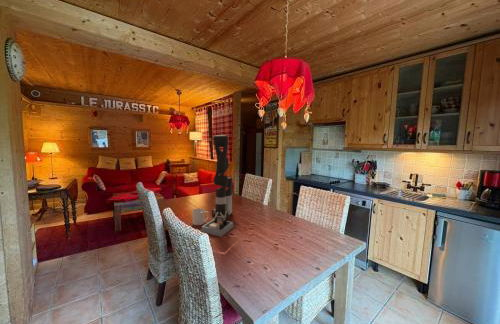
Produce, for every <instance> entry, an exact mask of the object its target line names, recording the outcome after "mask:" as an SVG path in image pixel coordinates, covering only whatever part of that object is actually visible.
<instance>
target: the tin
mask: <svg viewBox="0 0 500 324" xmlns="http://www.w3.org/2000/svg"><path fill="white" fill-rule="evenodd" d="M217 223H218V224H220V225H219V229H223V228H224V219H223V218H222V217H221V216H218V217H217Z"/></svg>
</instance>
